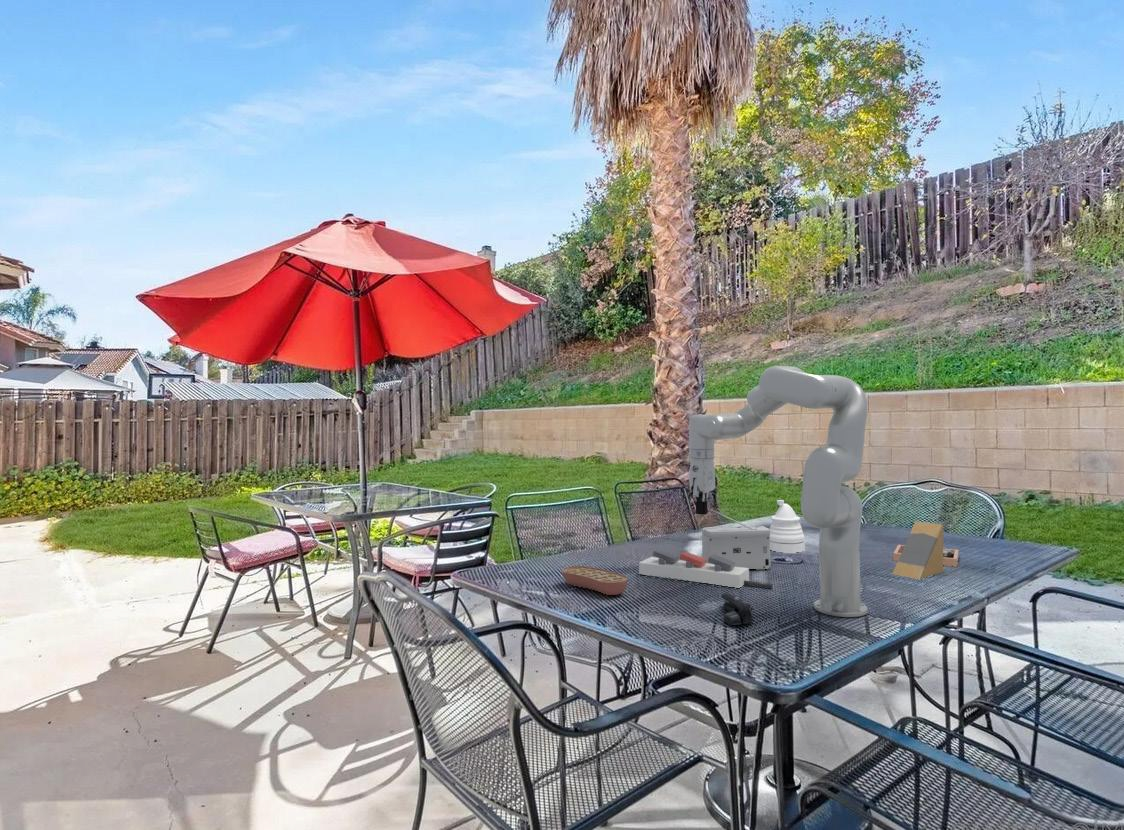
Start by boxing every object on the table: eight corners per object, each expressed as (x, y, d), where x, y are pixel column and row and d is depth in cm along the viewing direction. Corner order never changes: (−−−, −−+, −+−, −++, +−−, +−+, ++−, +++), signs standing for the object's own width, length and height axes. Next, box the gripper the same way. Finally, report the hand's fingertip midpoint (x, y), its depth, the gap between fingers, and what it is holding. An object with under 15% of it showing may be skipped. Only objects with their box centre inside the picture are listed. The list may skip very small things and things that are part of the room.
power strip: (767, 592, 180) (767, 572, 180) (639, 575, 202) (638, 557, 202) (776, 585, 188) (775, 565, 188) (651, 569, 209) (651, 551, 209)
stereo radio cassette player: (764, 564, 212) (763, 504, 212) (773, 570, 204) (772, 508, 204) (701, 566, 211) (700, 506, 211) (708, 572, 203) (706, 510, 203)
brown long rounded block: (556, 586, 192) (555, 569, 192) (579, 579, 199) (579, 563, 199) (612, 602, 175) (612, 584, 175) (636, 594, 182) (635, 577, 182)
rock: (902, 559, 217) (902, 544, 217) (917, 554, 222) (916, 540, 222) (942, 566, 206) (942, 550, 206) (957, 560, 211) (956, 545, 211)
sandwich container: (889, 575, 196) (889, 526, 196) (915, 567, 204) (914, 520, 204) (918, 581, 189) (917, 530, 188) (944, 572, 197) (943, 524, 197)
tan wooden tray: (957, 567, 203) (957, 559, 203) (893, 560, 213) (893, 553, 213) (958, 557, 216) (958, 549, 216) (898, 551, 225) (898, 544, 225)
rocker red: (700, 568, 193) (701, 562, 193) (678, 560, 197) (680, 554, 197) (705, 565, 197) (706, 559, 197) (684, 557, 201) (685, 551, 200)
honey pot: (779, 554, 226) (778, 503, 225) (761, 547, 238) (760, 498, 238) (812, 552, 228) (811, 501, 228) (792, 544, 241) (791, 496, 241)
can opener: (758, 629, 152) (758, 605, 152) (729, 629, 152) (728, 605, 152) (739, 605, 170) (738, 584, 170) (712, 606, 170) (712, 585, 170)
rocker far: (672, 565, 198) (673, 559, 198) (652, 556, 202) (653, 551, 201) (677, 562, 202) (679, 556, 201) (658, 554, 205) (659, 548, 205)
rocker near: (729, 572, 188) (731, 565, 188) (707, 563, 192) (708, 557, 192) (734, 568, 192) (735, 562, 192) (712, 560, 196) (713, 554, 195)
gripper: (703, 457, 188) (703, 519, 189) (722, 453, 201) (721, 511, 201) (680, 456, 193) (680, 516, 193) (699, 452, 205) (699, 509, 206)
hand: (701, 513), depth 197 cm, fingers closed
